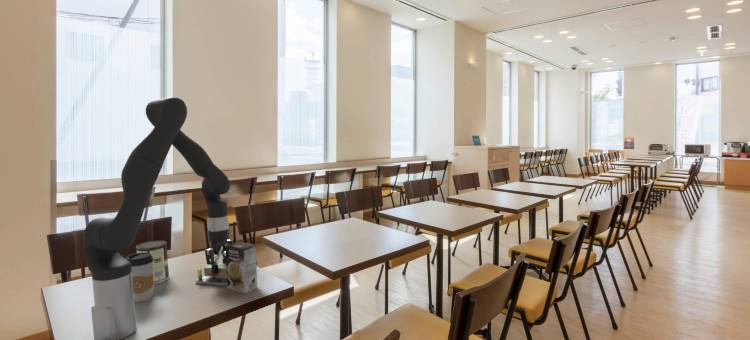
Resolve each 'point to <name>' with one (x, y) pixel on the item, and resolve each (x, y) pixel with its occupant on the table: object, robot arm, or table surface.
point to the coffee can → (157, 259)
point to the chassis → (211, 279)
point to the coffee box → (241, 266)
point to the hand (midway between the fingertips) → (220, 270)
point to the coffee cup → (142, 275)
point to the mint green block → (221, 270)
